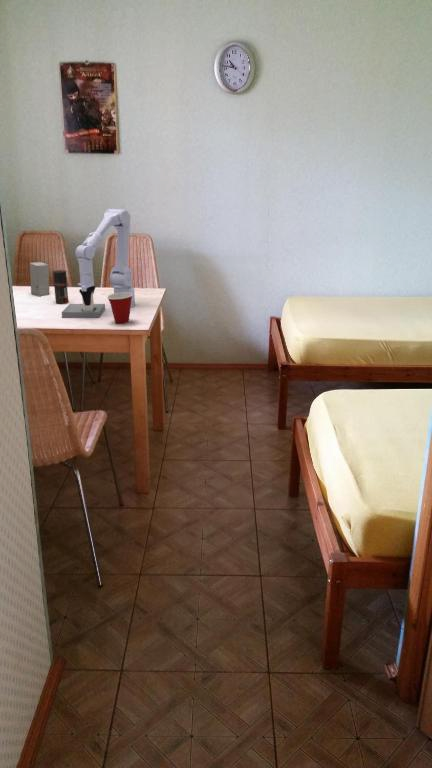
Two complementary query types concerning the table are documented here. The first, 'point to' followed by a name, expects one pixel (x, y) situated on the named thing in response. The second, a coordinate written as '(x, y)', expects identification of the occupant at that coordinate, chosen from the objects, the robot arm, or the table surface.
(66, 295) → the deodorant
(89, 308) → the beige rectangular block
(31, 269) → the skincare box
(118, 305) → the plastic cup
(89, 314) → the outlet plate
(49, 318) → the table surface
